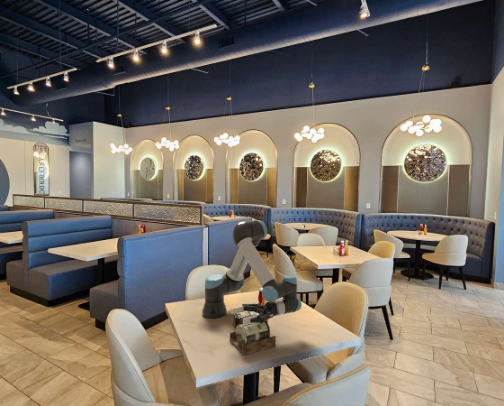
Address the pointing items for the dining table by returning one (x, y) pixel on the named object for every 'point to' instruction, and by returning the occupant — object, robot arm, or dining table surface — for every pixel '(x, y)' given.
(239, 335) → the coffee can
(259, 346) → the cradle
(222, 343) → the dining table surface
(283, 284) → the robot arm
